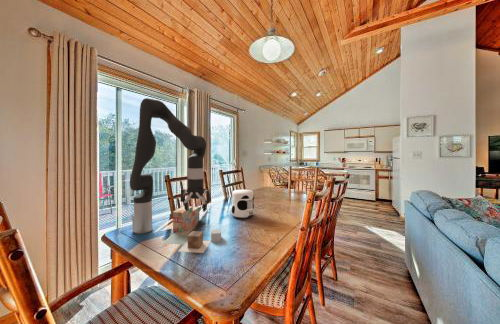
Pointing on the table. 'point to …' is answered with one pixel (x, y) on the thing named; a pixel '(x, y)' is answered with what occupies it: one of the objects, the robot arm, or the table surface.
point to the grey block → (215, 235)
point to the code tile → (200, 250)
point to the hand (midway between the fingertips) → (195, 210)
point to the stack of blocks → (185, 218)
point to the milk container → (243, 203)
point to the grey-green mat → (176, 239)
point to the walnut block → (195, 239)
